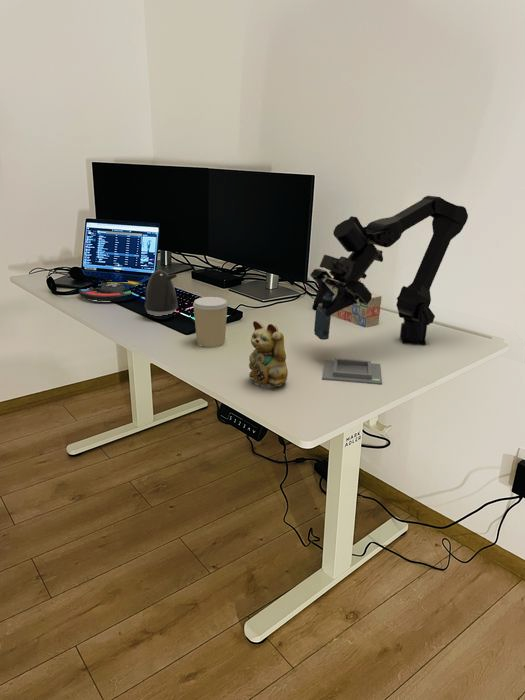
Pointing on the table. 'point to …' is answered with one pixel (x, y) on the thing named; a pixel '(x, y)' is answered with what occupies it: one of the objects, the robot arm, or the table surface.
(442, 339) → the table surface
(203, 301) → the coffee cup
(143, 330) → the table surface
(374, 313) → the stack of blocks
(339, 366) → the dock
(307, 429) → the table surface
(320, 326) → the vaping device
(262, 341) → the decorative figurine
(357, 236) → the robot arm
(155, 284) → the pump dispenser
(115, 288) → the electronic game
